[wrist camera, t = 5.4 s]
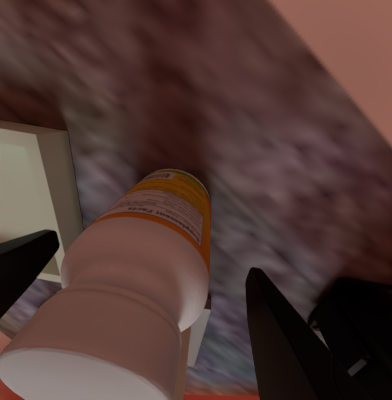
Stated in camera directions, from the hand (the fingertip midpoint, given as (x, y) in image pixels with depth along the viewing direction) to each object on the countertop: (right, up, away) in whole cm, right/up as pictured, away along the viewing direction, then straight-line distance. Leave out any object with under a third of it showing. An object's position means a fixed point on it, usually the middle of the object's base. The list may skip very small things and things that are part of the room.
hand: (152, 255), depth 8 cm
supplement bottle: (0, +2, +5) cm, 5 cm away
